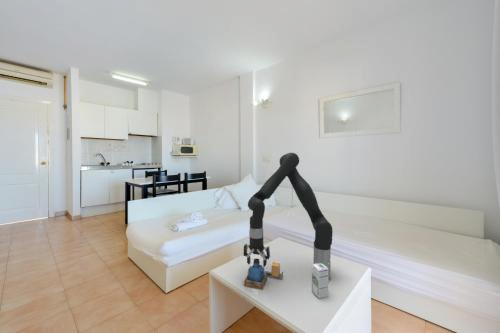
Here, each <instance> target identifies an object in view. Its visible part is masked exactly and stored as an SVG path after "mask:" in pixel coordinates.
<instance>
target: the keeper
mask: <svg viewBox="0 0 500 333" xmlns="http://www.w3.org/2000/svg"><path fill="white" fill-rule="evenodd" d="M267 281H268V277H267V274H265V273H264V278H263V280H262V282H261V283H260V282H255V281H251V280H249V274H248V273H247V275H246V277H245V279H244V281H243V282H244V283H243V287H247V288H251V289H256V290H261V291H264V287H265V285H266V283H267Z"/></svg>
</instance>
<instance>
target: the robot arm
mask: <svg viewBox="0 0 500 333" xmlns="http://www.w3.org/2000/svg"><path fill="white" fill-rule="evenodd" d="M299 164H300V157H299V155H298V154H297V153H295V152H287V153H285V154H283V155H281V157H280V158H279V167H278V168H277V170H276V171H275V172H274V173H272V175H270V177H269V178H268V179H267V180H266V181H265V182H264V183H263V184H262V186H261V187H260V189H259V190H258V191H256V192H255V193H254V194H253V195H252V196H251V197H250V199H249V200H248V202H247V208H248V209H249V210H251V212H252V215H251V216H250V217H249V230H248V236H249V244H247V243H244V245H243V256H244V257H246V263H247V265H250V264H251V255H252V254H253V255H257V256H259V255H260V258H261V257H262V259H263V260H262V264H263V265H262V267H263V268H264V267H266V266H267V264H268V263H267V260H270V257H271V252H270V246H269V245H268V246H265V245H264V223H263V222H264V220H263V219H264V216H265V210H266V206H265V202H264V201H265V200H269V199H270V198H271V197H272V196H273V194H274V193H275V191H276V190H277V189H278V187H279V186H280V185H281V184H282V183H283V181H284V180H285V179H286V177H287V178H288V180H289V182H290V184H291V186H292V189H293V190H294V192H295V195H296V197H297V198H298V201H299V202H300V204H301V206H302V207H303V209H304V210H305V211H306V212H307V215H308V216H309V218H310V221H311V224H312V227H313V229H314V232H315V233H314V234H315V237H314V240H313V262H312V263H313V264H316V263H322V264H323V265H325V266H326V267H327V268H328V281H331V272H332V271H331V270H332V269H331V268H332V266H331V264H332V263H331V256H332V254H331V252H332V251H331V250H332V249H331V247H332V243H333V226H332V224H331V223H330V222H329V221H328V219H327V218H326V216H324V214H323V212H322V210H321V209H320V206H319V203H318V199H317V196H316V194H315V193H314V191H313V189H312V187H311V186H310V184H309V183H308V182H307V180H306V179H305V178H304V177H303V176H302V175H301V174H300V173H299V171H298V169H297V167H299V166H298V165H299ZM248 249H249V252H248ZM265 252H266V254H265Z"/></svg>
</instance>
